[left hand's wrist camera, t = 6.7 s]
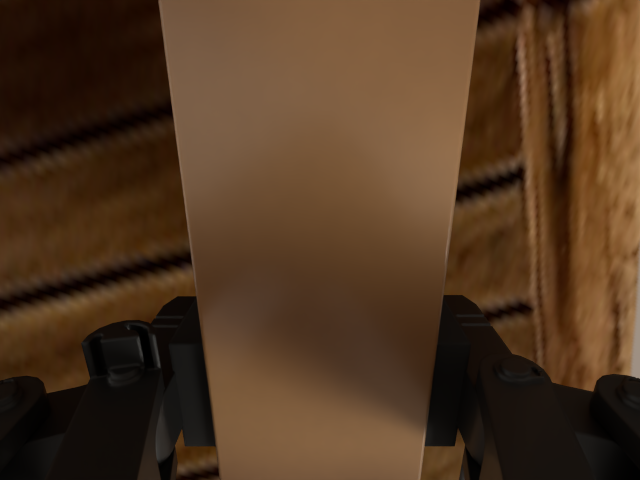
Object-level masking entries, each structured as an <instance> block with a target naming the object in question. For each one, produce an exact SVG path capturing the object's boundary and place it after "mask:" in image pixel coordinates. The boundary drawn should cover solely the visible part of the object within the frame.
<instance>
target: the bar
mask: <svg viewBox="0 0 640 480" xmlns="http://www.w3.org/2000/svg"><path fill="white" fill-rule="evenodd" d="M158 2H159V10H160V18H161V25H162V33H163V41H164V49H165V56H166V64H167V72H168V80H169V87H170V95H171V103H172V111H173V118H174V126H175V134H176V142H177V150H178V157H179V165H180V173H181V181H182V188H183V196H184V204H185V212H186V219H187V227H188V235H189V243H190V250H191V258H192V266H193V274H194V282H195V289H196V297H197V305H198V313H199V320H200V328H201V336H202V344H203V351H204V359H205V367H206V375H207V382H208V390H209V398H210V406H211V414H212V421H213V429H214V437H215V445H216V452H217V460H218V468H219V476H220V480H420V478H421V470H422V462H423V454H424V446H425V438H426V430H427V422H428V414H429V406H430V398H431V390H432V382H433V374H434V366H435V358H436V350H437V342H438V334H439V326H440V318H441V310H442V302H443V294H444V286H445V278H446V270H447V262H448V254H449V246H450V238H451V230H452V222H453V214H454V206H455V198H456V190H457V182H458V174H459V166H460V158H461V150H462V142H463V134H464V126H465V118H466V110H467V102H468V94H469V86H470V78H471V70H472V62H473V54H474V46H475V38H476V30H477V22H478V14H479V6H480V0H158Z"/></svg>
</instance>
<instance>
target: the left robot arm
mask: <svg viewBox="0 0 640 480" xmlns="http://www.w3.org/2000/svg"><path fill="white" fill-rule="evenodd" d="M81 344H82V348H83V352H84V356H85V360H86V364H87V367H88V371H89V375H90V380H89V382H88V384H87V385H83V386H80V387H75V388H71V389H66V390H61V391H57V392H52V393H46V389H45V386H44V383H43V382H42V381H41V380H40V379H39V378H37V377H31V376H21V377H12V378H8V379H5V380H1V381H0V480H176V472H177V463H178V462H177V455H176V449H175V444H176V442H177V439H178V437H179V434H180V432H181V429H182V431H183V437H184V443H185V446H216V445H215V437H214V429H213V421H212V414H211V406H210V398H209V390H208V382H207V375H206V367H205V359H204V351H203V344H202V336H201V328H200V320H199V313H198V305H197V297H196V296H178V297H176V298H175V299H173V300H172V301H170V302H169V303H167V304H166V305H164V306H163V307H162V309H161V310H160V312H159V313H158V314H157V316H156V319H154V320H153V321H152V323H151V324H150V323H148V322H144V321H140V320H126V321H121V322H116V323H112V324H109V325H107V326H104V327H102V328H99V329H98V330H96V331H94V332H93V333H91V334H90V335H88V336H87V337H86V338H85V340H84V341H83V342H82V343H81ZM458 428H459V430H460V433H461V435H462V438H463V440H464V443H465V449H464V455H463V460H462V466H461V472H460V478H459V480H640V379H639V378H635V377H631V376H627V375H618V374H610V375H604V376H602V377H601V378H599V379H598V380H597V382H596V385H595V388H594V391H593V392H592V391H587V390H582V389H578V388H573V387H568V386H563V385H559V384H556V383H552V382H551V379H550V377H549V376H548V375H547V373H546V372H545V371H544V369H542V368H541V367H540V366H538V365H537V364H536V363H534V362H533V361H530V360H528V359H526V358H524V357H521V356H518V355H514V354H512V353H511V352H510V350H509V349H508V347H507V346H506V345H505V343H504V342H503V341H502V339H501V338H500V336H499V335H498V334H497V332H496V331H495V330H494V328H493V327H492V326H490V323H489V321H488V320H487V319H486V317H484V314H483V313H482V312H481V310H480V309H479V308H478V306H477V305H476V304H475V303H473V302H472V301H470V300H469V299H467V298H466V297H464V296H463V295H443V302H442V310H441V318H440V326H439V334H438V342H437V350H436V358H435V366H434V374H433V382H432V390H431V398H430V406H429V414H428V422H427V430H426V438H425V446H455V441H456V435H457V429H458Z"/></svg>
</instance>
